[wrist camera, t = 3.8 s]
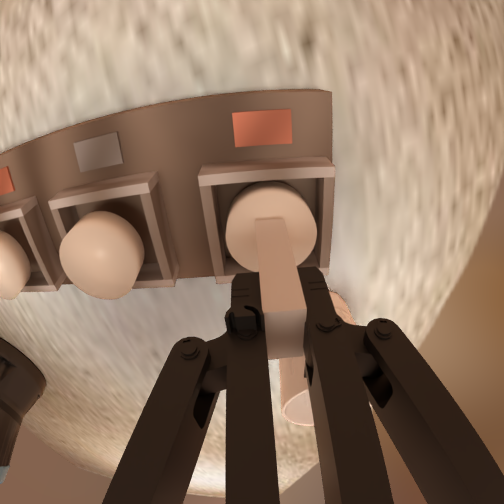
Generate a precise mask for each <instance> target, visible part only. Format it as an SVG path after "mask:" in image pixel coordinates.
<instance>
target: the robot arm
mask: <svg viewBox="0 0 504 504" xmlns="http://www.w3.org/2000/svg"><path fill="white" fill-rule="evenodd" d="M255 230H256V242H257V255H258V268H259V272H249V273H237V274H236V275H235V277H234V278H233V280H232V286H231V308H230V309H229V310H228V311H227V312H226V315H225V322H226V327H227V331H226V332H225V333H224V334H223V335H222V336H220V337H218V338H216V339H213V340H210V341H207V342H205V341H204V340H202V339H200V338H198V337H187V338H183V339H181V340H180V341H178V342H177V343H176V344H175V345H174V346H173V348H172V350H171V352H170V354H169V356H168V358H167V360H166V362H165V364H164V366H163V369H162V371H161V373H160V375H159V377H158V379H157V381H156V383H155V385H154V388H153V390H152V392H151V394H150V396H149V398H148V400H147V403H146V405H145V407H144V409H143V411H142V413H141V416H140V418H139V420H138V422H137V424H136V427H135V429H134V431H133V433H132V436H131V438H130V440H129V442H128V444H127V447H126V449H125V451H124V453H123V456H122V458H121V460H120V463H119V465H118V467H117V470H116V472H115V474H114V476H113V479H112V481H111V483H110V486H109V488H108V491H107V493H106V495H105V498H104V500H103V503H102V504H183V501H184V498H185V495H186V492H187V489H188V487H189V484H190V481H191V478H192V475H193V472H194V469H195V466H196V463H197V460H198V457H199V454H200V451H201V448H202V445H203V442H204V439H205V436H206V433H207V430H208V427H209V423H210V420H211V417H212V414H213V411H214V408H215V405H216V402H217V399H218V396H219V393H220V391H222V390H225V389H226V504H280V501H279V487H278V474H277V462H276V450H275V437H274V425H273V414H272V402H271V390H270V378H269V367H268V360H270V359H282V358H292V357H301V356H303V352H304V355H305V368H304V378H307V384H308V390H309V396H310V402H311V408H312V414H313V421H314V427H315V434H316V440H317V447H318V454H319V461H320V467H321V474H322V482H323V489H324V497H325V504H394V502H393V498H392V493H391V488H390V484H389V479H388V475H387V470H386V466H385V462H384V457H383V453H382V449H381V446H380V441H379V438H378V433H377V429H376V426H375V422H374V418H373V414H372V411H371V407H370V404H371V405H372V407H373V409H374V410H375V412H376V414H377V416H378V417H379V419H380V421H381V422H382V424H383V426H384V427H385V429H386V431H387V433H388V434H389V436H390V438H391V439H392V441H393V443H394V445H395V447H396V448H397V450H398V452H399V454H400V455H401V457H402V459H403V461H404V462H405V464H406V466H407V467H408V469H409V471H410V473H411V474H412V476H413V478H414V480H415V482H416V484H417V485H418V487H419V489H420V491H421V493H422V494H423V496H424V498H425V500H426V502H427V503H428V504H504V475H503V474H502V472H501V470H500V469H499V467H498V465H497V463H496V462H495V460H494V459H493V457H492V455H491V454H490V452H489V451H488V449H487V448H486V446H485V444H484V443H483V441H482V440H481V438H480V437H479V435H478V434H477V432H476V431H475V429H474V428H473V426H472V425H471V423H470V422H469V420H468V419H467V417H466V416H465V414H464V413H463V412H462V410H461V409H460V407H459V406H458V404H457V403H456V402H455V401H454V399H453V397H452V396H451V395H450V393H449V392H448V390H447V389H446V388H445V386H444V385H443V384H442V382H441V381H440V380H439V378H438V377H437V376H436V374H435V373H434V372H433V370H432V369H431V368H430V366H429V365H428V364H427V362H426V361H425V360H424V359H423V357H422V356H421V354H420V353H419V352H418V351H417V349H416V348H415V347H414V346H413V344H412V343H411V342H410V340H409V339H408V338H407V337H406V335H405V334H404V333H403V332H402V330H401V329H400V328H399V327H398V325H396V324H395V323H394V322H393V321H391V320H388V319H384V318H378V319H374V320H372V321H370V322H369V323H368V325H367V326H359V325H353V324H349V323H347V322H345V321H343V319H342V318H341V317H340V316H339V315H337V313H336V311H335V308H334V305H333V302H332V299H331V296H330V293H329V290H328V287H327V284H326V282H325V279H324V276H323V273H322V272H321V271H320V270H319V269H318V268H317V267H316V266H312V267H301V268H297V267H296V263H295V259H294V255H293V251H292V247H291V244H290V240H289V236H288V232H287V229H286V225H285V221H284V219H272V220H259V221H255ZM45 386H46V381H45V379H44V377H43V375H42V374H41V372H40V371H39V370H38V369H37V368H36V367H35V365H34V364H33V363H32V362H31V361H30V360H28V359H27V358H26V357H25V356H24V355H23V354H22V353H20V352H19V351H18V350H17V349H15V348H14V347H13V346H11V345H10V344H8V343H7V342H5V341H4V340H2V339H0V484H1V483H3V481H4V479H5V476H6V473H7V471H8V468H9V467H10V460H11V456H12V452H13V449H14V445H15V442H16V438H17V435H18V432H19V429H20V426H21V423H22V420H23V417H24V415H25V414H26V413H27V412H28V411H29V410H30V408H31V407H32V406H33V405H34V404H35V402H36V401H37V399H39V398H40V397H41V396H42V394H43V392H44V389H45ZM369 402H370V404H369Z"/></svg>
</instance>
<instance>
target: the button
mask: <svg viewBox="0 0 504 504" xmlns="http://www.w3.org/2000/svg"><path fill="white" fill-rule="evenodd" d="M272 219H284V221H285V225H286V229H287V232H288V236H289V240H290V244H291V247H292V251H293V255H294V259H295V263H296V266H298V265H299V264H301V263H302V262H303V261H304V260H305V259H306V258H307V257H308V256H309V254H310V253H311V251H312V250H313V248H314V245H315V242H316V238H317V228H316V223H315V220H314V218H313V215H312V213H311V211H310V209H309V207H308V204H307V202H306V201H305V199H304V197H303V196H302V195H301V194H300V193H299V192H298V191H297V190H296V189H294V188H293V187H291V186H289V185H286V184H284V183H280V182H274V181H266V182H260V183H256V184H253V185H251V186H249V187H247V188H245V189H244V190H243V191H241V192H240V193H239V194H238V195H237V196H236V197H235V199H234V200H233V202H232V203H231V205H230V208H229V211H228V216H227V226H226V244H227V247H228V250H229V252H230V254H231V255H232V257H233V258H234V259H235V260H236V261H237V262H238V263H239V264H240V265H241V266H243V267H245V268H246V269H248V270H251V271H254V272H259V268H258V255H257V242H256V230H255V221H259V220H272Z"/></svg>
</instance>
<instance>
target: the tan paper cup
mask: <svg viewBox="0 0 504 504" xmlns="http://www.w3.org/2000/svg"><path fill="white" fill-rule="evenodd" d="M329 293H330V296H331V299H332V302H333V305H334V308H335V311H336V313H337V315H339V316H340V317H341V318H342V319H343V321H345V322H347V323H349V324H353V325H356V323H355V322H354V320H353V318H352V316H351V314H350V312H349V309H348V307H347V305H346V302H345V301H344V300H343V299H342V298H341V297H340V296H339V295H338V294H337V293H334V292H330V291H329ZM304 368H305V355H304V352H303V356H301V357H292V358H282V359H279V372H280V390H281V413H282V416H283V417H284V418H285V419H286V420H287V421H289V422H291V423H294V424H298V425H305V426H314V421H313V414H312V408H311V402H310V396H309V390H308V384H307V378H304ZM369 404H370V402H369ZM371 406H372V405H371V404H370V407H371Z"/></svg>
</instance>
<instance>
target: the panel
mask: <svg viewBox="0 0 504 504" xmlns="http://www.w3.org/2000/svg"><path fill="white" fill-rule="evenodd" d="M266 181H274V182H280V183H284V184H286V185H289V186H291V187H293V188H294V189H296V190H297V191H298V192H299V193H300V194H301V195H302V196H303V197H304V199H305V201H306V202H307V204H308V207H309V209H310V211H311V213H312V215H313V218H314V220H315V223H316V228H317V238H316V242H315V245H314V248H313V250H312V251H311V253H310V254H309V256H308V257H307V258H306V259H305V260H304V261H303V262H302V263H301V264H299V265H298V266H296V267H297V268H301V267H312V266H316V267H317V268H318V269H319V270H320V271H321V272H322V273H323V275H328V273H329V262H330V250H331V238H332V224H333V207H334V186H335V166H334V165H333V164H332V92H330V91H325V90H320V89H288V90H263V91H248V92H236V93H226V94H217V95H209V96H201V97H194V98H187V99H181V100H175V101H169V102H164V103H159V104H154V105H149V106H144V107H139V108H135V109H131V110H126V111H122V112H118V113H114V114H110V115H107V116H103V117H99V118H96V119H92V120H89V121H86V122H82V123H79V124H76V125H73V126H70V127H67V128H64V129H61V130H58V131H55V132H52V133H50V134H47V135H44V136H42V137H39V138H36V139H34V140H31V141H29V142H26V143H24V144H22V145H19V146H17V147H15V148H12V149H10V150H8V151H6V152H3V153H1V154H0V231H4V232H6V233H8V234H9V235H11V236H12V237H13V238H14V239H15V240H16V241H17V242H18V243H19V244H20V245H21V247H22V248H23V249H24V251H25V253H26V255H27V257H28V259H29V262H30V266H31V276H30V278H29V280H28V281H27V283H26V284H25V286H24V287H23V288H22V290H21V291H20V292H45V291H58V290H59V288H60V286H61V285H62V284H73V282H72V281H71V280H70V279H69V278H68V276H67V275H66V273H65V272H64V270H63V267H62V265H61V261H60V256H59V250H60V245H61V242H62V240H63V239H64V237H65V236H66V235H67V234H68V232H69V231H70V230H71V229H72V228H73V227H74V225H75V224H76V223H77V222H78V221H79V220H80V219H81V218H82V217H83V216H85V215H86V214H88V213H91V212H94V211H106V212H111V213H114V214H116V215H118V216H120V217H122V218H124V219H125V220H126V221H128V222H129V223H130V224H131V225H132V226H133V227H134V228H135V230H136V231H137V232H138V234H139V236H140V238H141V240H142V242H143V246H144V253H145V254H144V261H143V264H142V266H141V269H140V271H139V273H138V276H137V278H136V280H135V283H134V285H133V287H132V289H136V288H157V287H175V283H176V279H178V278H194V277H209V276H215V279H216V284H223V283H232V280H233V278H234V277H235V275H236V274H237V273H249V272H254V271H251V270H248V269H246V268H245V267H243V266H241V265H240V264H239V263H238V262H237V261H236V260H235V259H234V258H233V257H232V255H231V254H230V252H229V250H228V247H227V244H226V226H227V216H228V211H229V208H230V205H231V203H232V202H233V200H234V199H235V197H236V196H237V195H238V194H239V193H240V192H241V191H243V190H244V189H245V188H247V187H249V186H251V185H253V184H256V183H260V182H266Z"/></svg>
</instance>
